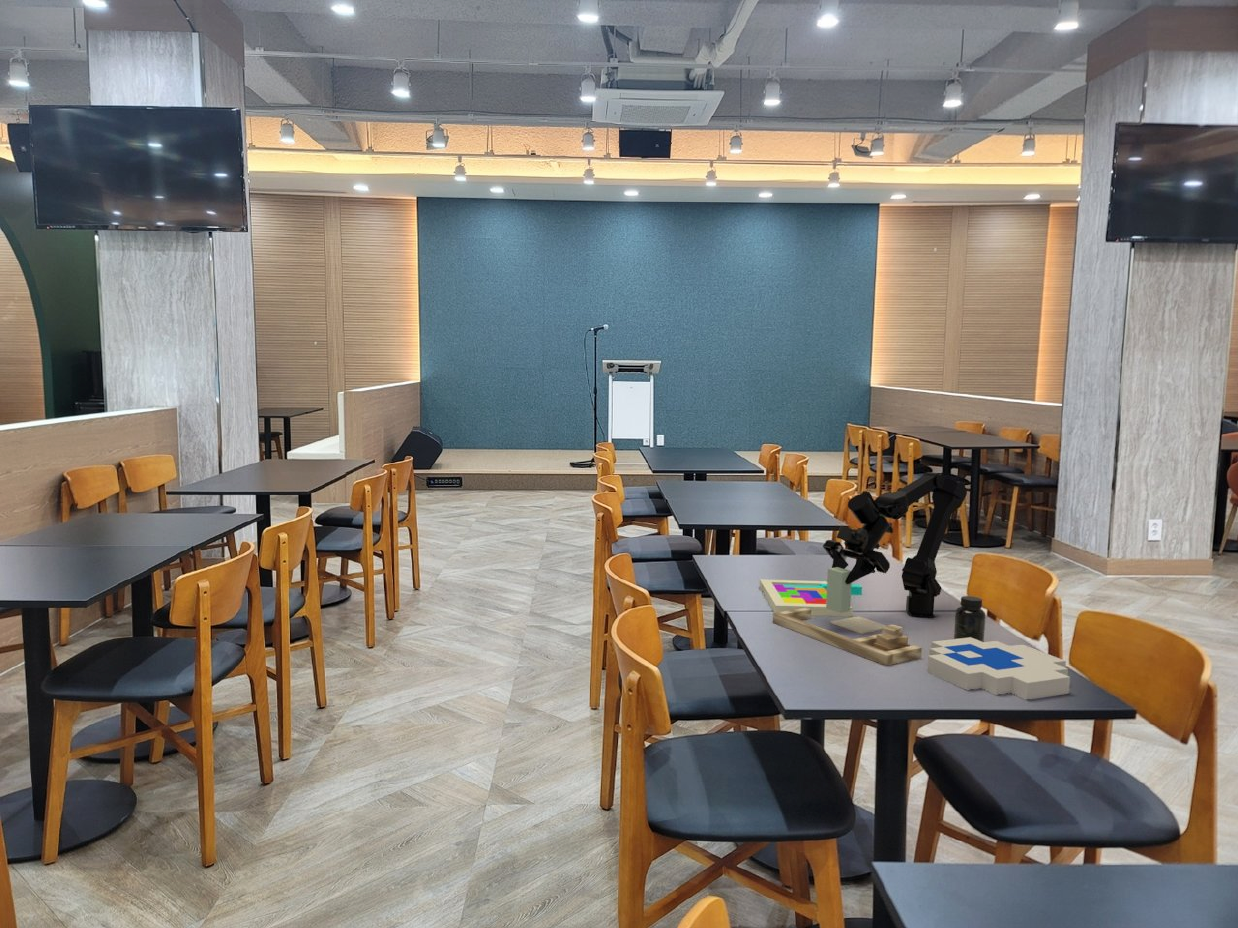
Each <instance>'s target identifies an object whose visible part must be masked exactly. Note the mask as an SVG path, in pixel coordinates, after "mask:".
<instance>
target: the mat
mask: <svg viewBox="0 0 1238 928" xmlns="http://www.w3.org/2000/svg"><path fill="white" fill-rule="evenodd" d="M829 623H830V624H831V625H835V626H838V627H840V628H842V629H846V630H849V631H852V632H854V633H857V634H860V635H866V634H871V633H874V632H875V633H876V632H880V631H882V628H883V627H886V626H887V625H886V624H883V623H880V622H877V621H874V620H870V619H869V618H865V617H862V616H859V615H858V616H852V617H847V618H842V619H837V620H836V619H835V620H832V621H829Z"/></svg>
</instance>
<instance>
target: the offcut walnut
mask: <svg viewBox="0 0 1238 928" xmlns="http://www.w3.org/2000/svg"><path fill="white" fill-rule="evenodd" d="M909 646H911V644H910V643H908V645H906V646H897V647H888V648H887V647H885V646H883V645H880V644H878V643H873V647H875V648H878V649H880V650H883V651H891V650H895V649H900V648H904V647H909Z"/></svg>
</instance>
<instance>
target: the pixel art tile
mask: <svg viewBox="0 0 1238 928" xmlns="http://www.w3.org/2000/svg"><path fill="white" fill-rule="evenodd" d="M1066 661H1067V660H1064V659H1062V658H1060V657H1057V656H1054V655H1051V654H1049V653H1046V652H1044V651H1041V650H1039V649H1035V648H1033V647H1030V646H1028V645H1025V644H1013V645H1008V644H1006V643H1003V642H1001V641H999V640H992V641H984V642H981V641H979V640H976V639H974V638H971V637H969V638H960V639H954V638H952V639H944V640H936V641H935V640H934V641H931V643H930V648H929V654H928V655H927V665H926V666H927V669H926V671H928V673H929V674H931V675H934V676H936V677H938V678H939V679H942V678H943V679H942V680H944V679H945V681H946V682H947V683H950V684H952V685H954V684H955V685H954V686H957V687H958V686H959V687H958V688H960V687H961V689H962V688H964V689H963V690H965V689H966V690H965V691H971V690H970V689H974V690H979V688H982V690H984V689H985V690H984V691H986V690H987V691H986V692H988V691H989V692H988V693H990V692H991V694H992V693H993V694H992V695H994V694H995V696H999V695H998V694H1001V695H1006V693H1008V694H1011V693H1012V695H1014V694H1015V695H1014V696H1016V695H1017V696H1016V697H1018V696H1019V697H1018V698H1020V697H1022V698H1024V699H1023V700H1025V699H1030V700H1035V699H1042V698H1048V697H1055V696H1060V695H1067V694H1069V693H1070V686H1071V685H1070V683H1071V676H1069V675H1068V673H1069V672H1068V671H1069V668H1067V667H1066V663H1067V662H1066ZM1022 698H1021V699H1022Z"/></svg>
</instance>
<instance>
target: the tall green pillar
mask: <svg viewBox="0 0 1238 928" xmlns="http://www.w3.org/2000/svg"><path fill="white" fill-rule="evenodd" d="M851 571H852V570H849V569H847V568H845V569H842V568H839V567H835V568H832V567H831V568H827V600H826V608H827V609H830V610H833V611H836V612H839V613H843V612H848V611H850V606H852V605H851V604H852V603H851V602H852V601H851V600H852V595H851V584H852V583H853V582H852V583H850V584H848V585H847V584H846V583H845V581H846V579H847V577H848V575H849V574H850V572H851Z"/></svg>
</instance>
